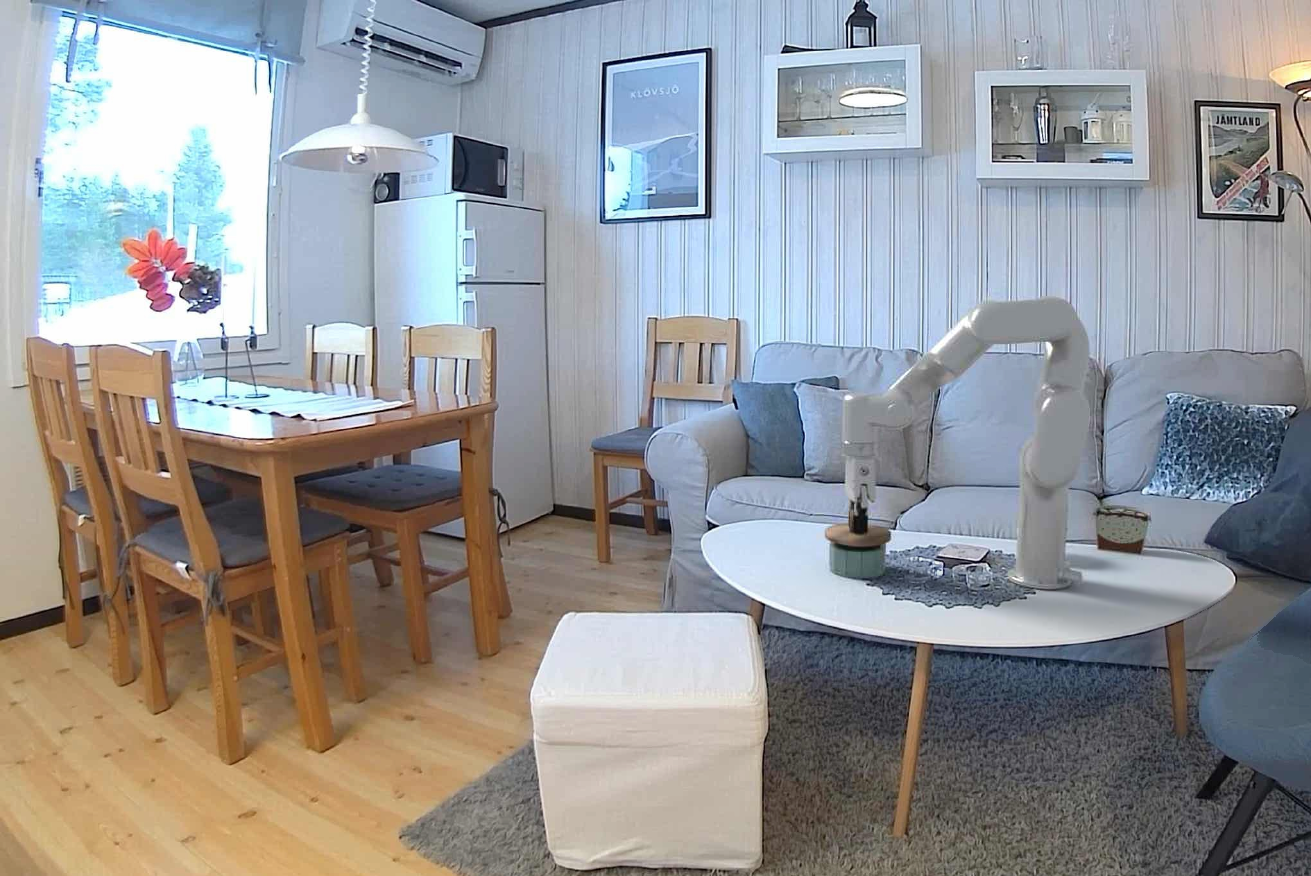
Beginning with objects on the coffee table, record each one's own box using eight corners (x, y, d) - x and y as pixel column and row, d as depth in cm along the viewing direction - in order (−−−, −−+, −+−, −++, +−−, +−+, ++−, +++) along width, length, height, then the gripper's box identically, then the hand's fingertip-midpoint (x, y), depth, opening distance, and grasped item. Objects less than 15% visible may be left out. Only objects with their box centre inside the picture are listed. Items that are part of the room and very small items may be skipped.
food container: (1151, 549, 215) (1154, 508, 214) (1149, 556, 210) (1152, 514, 209) (1094, 542, 222) (1096, 502, 220) (1090, 549, 217) (1093, 508, 215)
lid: (904, 541, 203) (905, 510, 202) (864, 554, 194) (864, 522, 193) (851, 528, 214) (852, 499, 213) (811, 541, 205) (811, 510, 203)
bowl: (895, 570, 204) (896, 544, 203) (862, 582, 197) (863, 555, 196) (852, 558, 213) (852, 533, 212) (818, 569, 206) (819, 544, 205)
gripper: (886, 456, 192) (884, 540, 195) (867, 442, 208) (866, 520, 212) (850, 456, 192) (849, 541, 195) (834, 442, 208) (833, 520, 212)
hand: (857, 529), depth 203 cm, fingers closed on lid, 3 cm apart
